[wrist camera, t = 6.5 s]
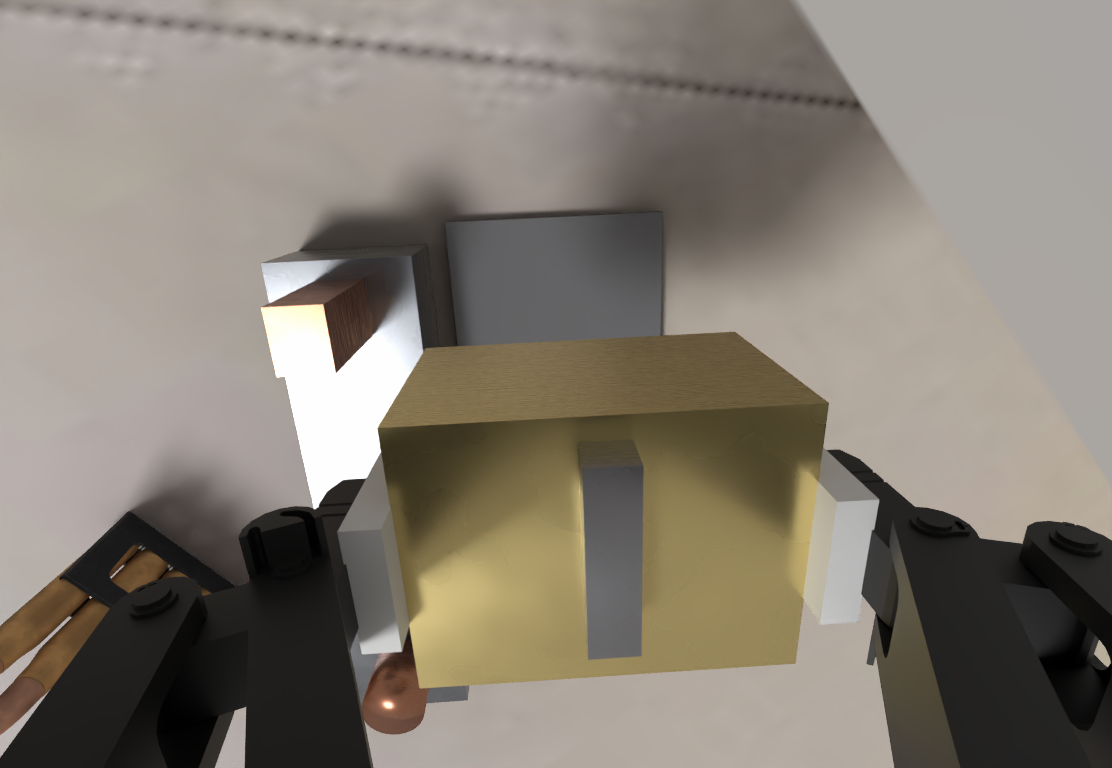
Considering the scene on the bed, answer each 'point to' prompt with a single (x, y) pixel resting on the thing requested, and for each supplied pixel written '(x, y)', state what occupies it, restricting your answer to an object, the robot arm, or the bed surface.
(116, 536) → the ammunition clip
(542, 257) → the felt mat
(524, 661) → the lever cap
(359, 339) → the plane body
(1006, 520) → the bed surface
